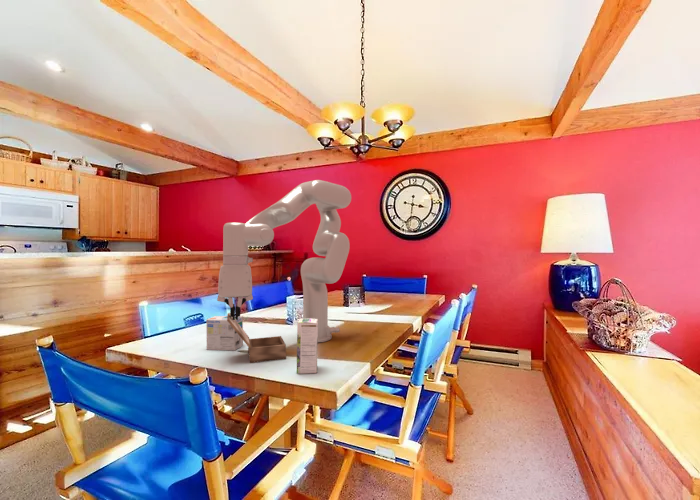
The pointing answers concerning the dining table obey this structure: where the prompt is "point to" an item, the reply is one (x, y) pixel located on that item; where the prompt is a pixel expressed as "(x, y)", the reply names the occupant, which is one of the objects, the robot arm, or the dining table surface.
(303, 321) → the syrup box
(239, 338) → the light bulb box
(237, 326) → the lid
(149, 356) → the dining table surface
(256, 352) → the box
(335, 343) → the dining table surface
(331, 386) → the dining table surface
